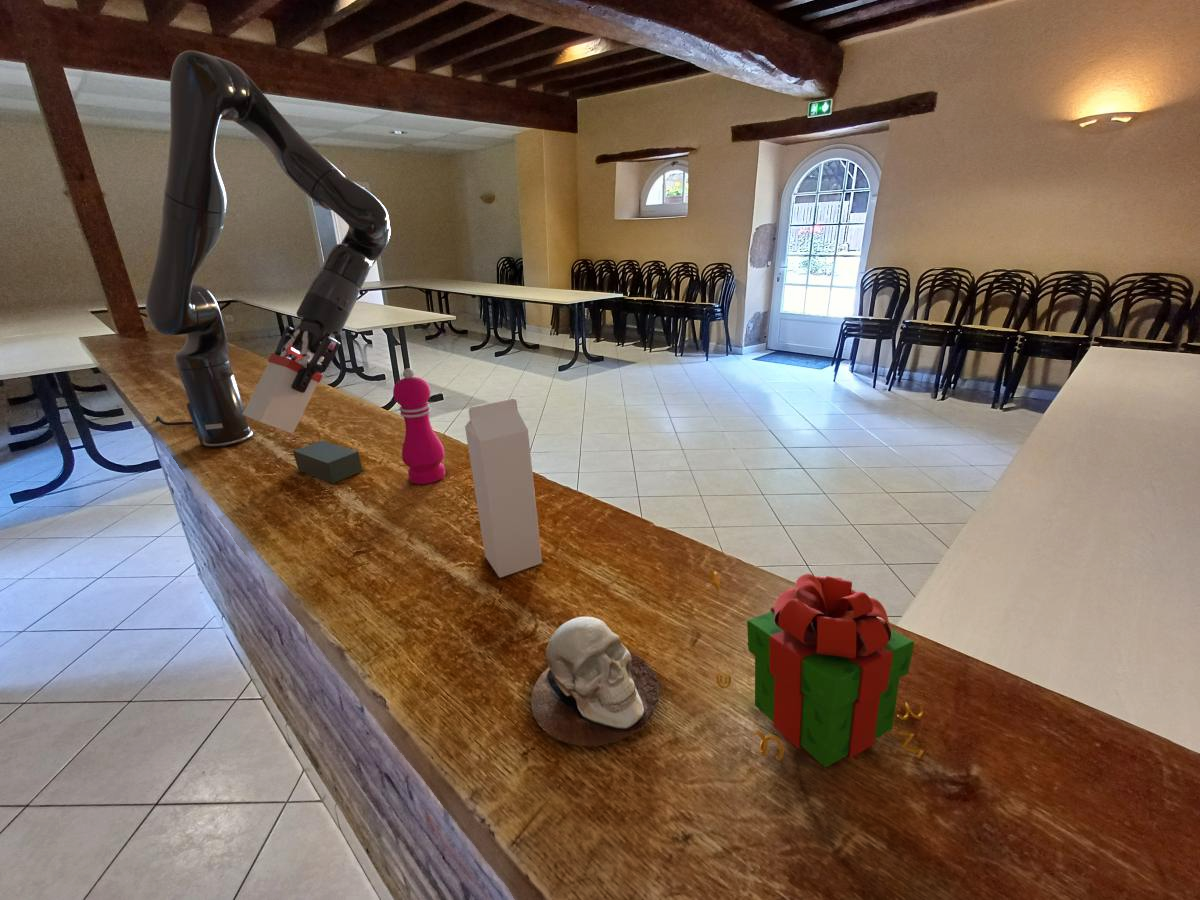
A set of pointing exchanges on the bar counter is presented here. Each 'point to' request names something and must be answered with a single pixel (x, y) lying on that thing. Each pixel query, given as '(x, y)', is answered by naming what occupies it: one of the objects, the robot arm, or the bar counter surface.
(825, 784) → the bar counter surface
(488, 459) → the milk
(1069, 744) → the bar counter surface
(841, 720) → the gift wrap
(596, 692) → the skull
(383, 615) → the bar counter surface
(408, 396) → the pepper mill
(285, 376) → the container
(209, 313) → the robot arm
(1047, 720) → the bar counter surface
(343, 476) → the block
